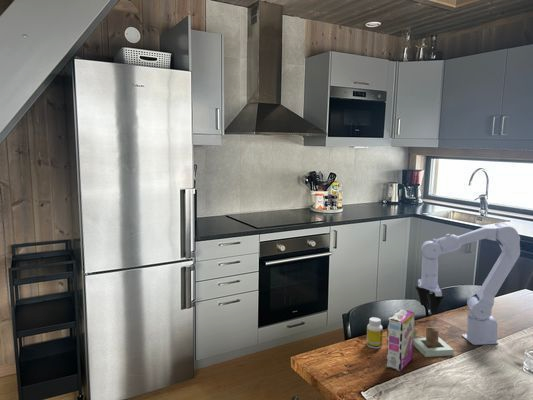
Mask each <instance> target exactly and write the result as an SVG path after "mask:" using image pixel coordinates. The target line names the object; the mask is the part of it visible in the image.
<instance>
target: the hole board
mask: <svg viewBox="0 0 533 400" xmlns="http://www.w3.org/2000/svg"><path fill="white" fill-rule="evenodd" d="M413 347H415V348H416V349H417V350H418V351H419V352H420V353H421V354H422V356H424V357H425V358H427V357H429V358H430V357H445V356H446V357H447V356H449V357H450V356H454V351H455V349H453V348H452V347H451V346H450V345H449V344H448V343H447V342H446V341H444V340H443V339H442V338H441V337H438V348H427V347H426V337H418V338H413Z"/></svg>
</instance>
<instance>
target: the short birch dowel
mask: <svg viewBox="0 0 533 400" xmlns="http://www.w3.org/2000/svg"><path fill="white" fill-rule="evenodd" d="M418 331H419V330H418V329H417V328H415V329H414V334H413V338H419V337H418V336H419V335H418Z"/></svg>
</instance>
